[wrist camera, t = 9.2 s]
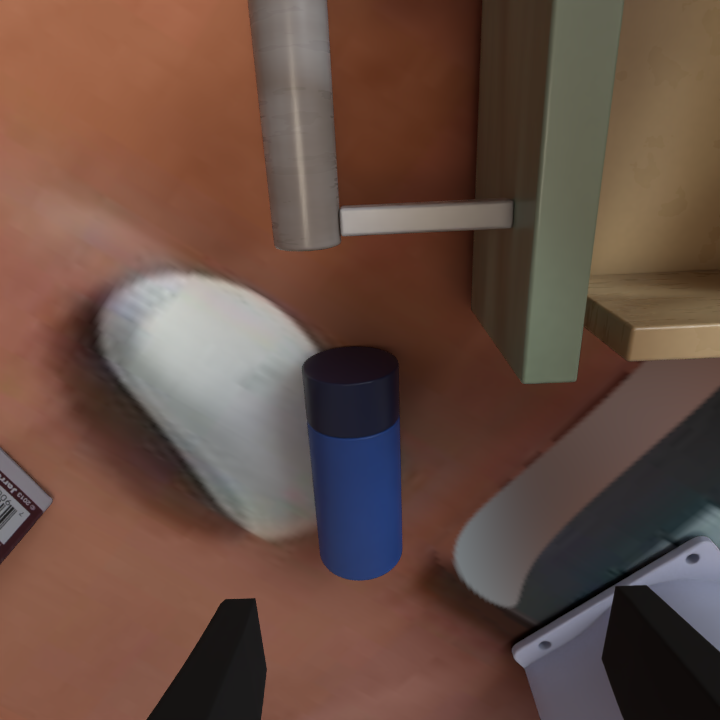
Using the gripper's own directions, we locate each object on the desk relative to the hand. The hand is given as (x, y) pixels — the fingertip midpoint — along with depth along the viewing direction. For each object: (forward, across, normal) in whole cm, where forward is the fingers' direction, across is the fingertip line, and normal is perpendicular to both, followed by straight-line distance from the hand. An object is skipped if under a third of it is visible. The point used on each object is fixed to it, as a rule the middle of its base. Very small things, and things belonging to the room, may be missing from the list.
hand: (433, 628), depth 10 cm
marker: (+7, +2, +1) cm, 7 cm away
